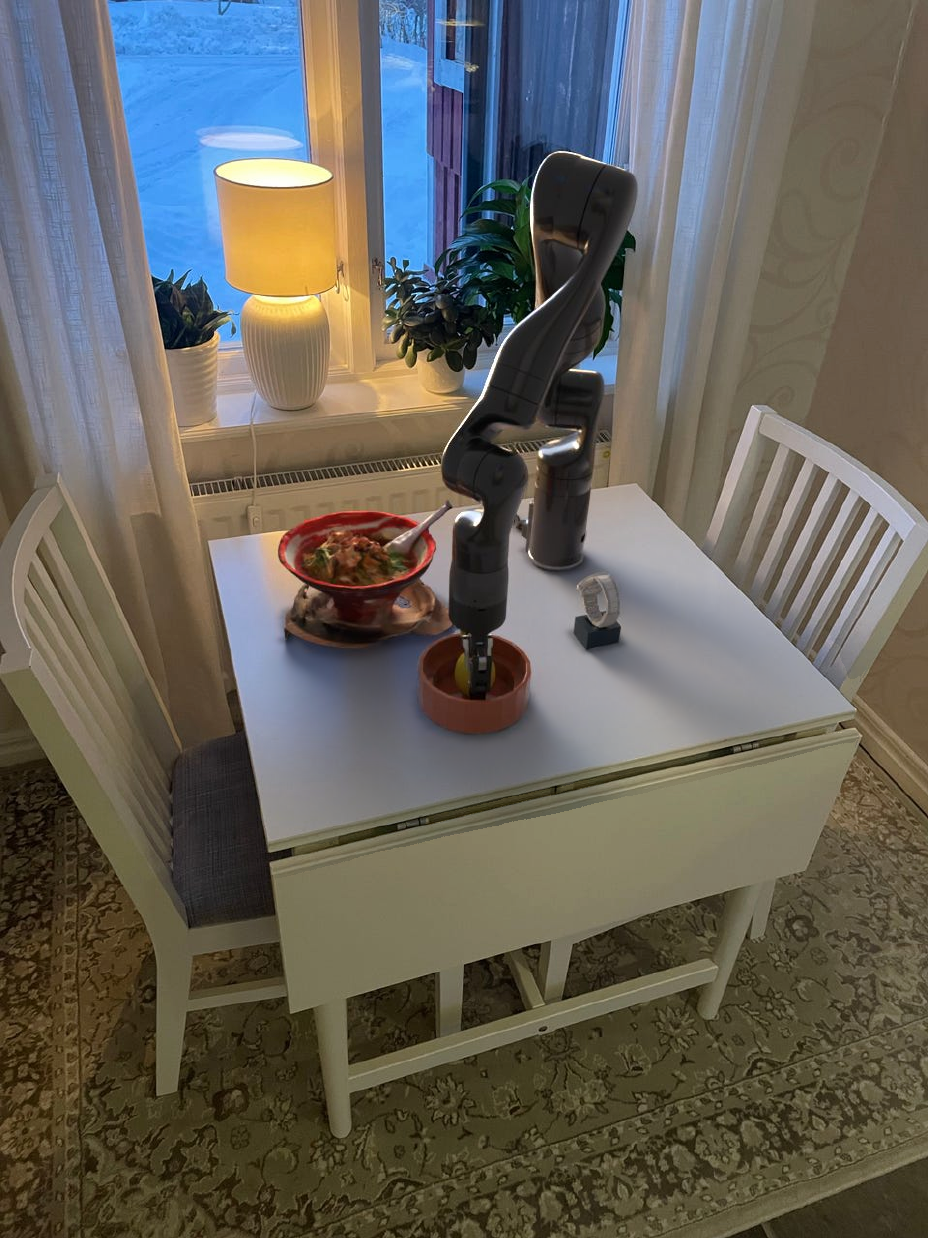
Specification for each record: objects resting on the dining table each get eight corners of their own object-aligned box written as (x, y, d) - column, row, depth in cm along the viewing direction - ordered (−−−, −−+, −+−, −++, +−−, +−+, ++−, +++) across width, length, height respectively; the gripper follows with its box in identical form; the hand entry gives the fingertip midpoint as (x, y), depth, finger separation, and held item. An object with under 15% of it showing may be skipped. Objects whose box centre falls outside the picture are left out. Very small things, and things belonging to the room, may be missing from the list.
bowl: (397, 689, 131) (397, 656, 128) (483, 652, 138) (485, 620, 135) (461, 752, 121) (462, 718, 118) (550, 709, 129) (553, 675, 125)
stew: (433, 559, 159) (434, 474, 150) (478, 641, 141) (482, 550, 131) (268, 583, 152) (258, 495, 142) (292, 673, 133) (283, 579, 124)
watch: (599, 619, 146) (608, 560, 140) (624, 649, 140) (634, 589, 134) (567, 626, 145) (574, 566, 138) (590, 656, 138) (599, 595, 132)
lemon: (490, 711, 127) (492, 666, 122) (450, 705, 128) (451, 659, 123) (496, 686, 131) (500, 641, 127) (458, 680, 132) (460, 635, 127)
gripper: (444, 559, 124) (441, 656, 134) (454, 622, 113) (451, 724, 122) (499, 557, 125) (493, 654, 135) (515, 620, 114) (507, 721, 123)
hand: (473, 687), depth 129 cm, fingers open, 7 cm apart
